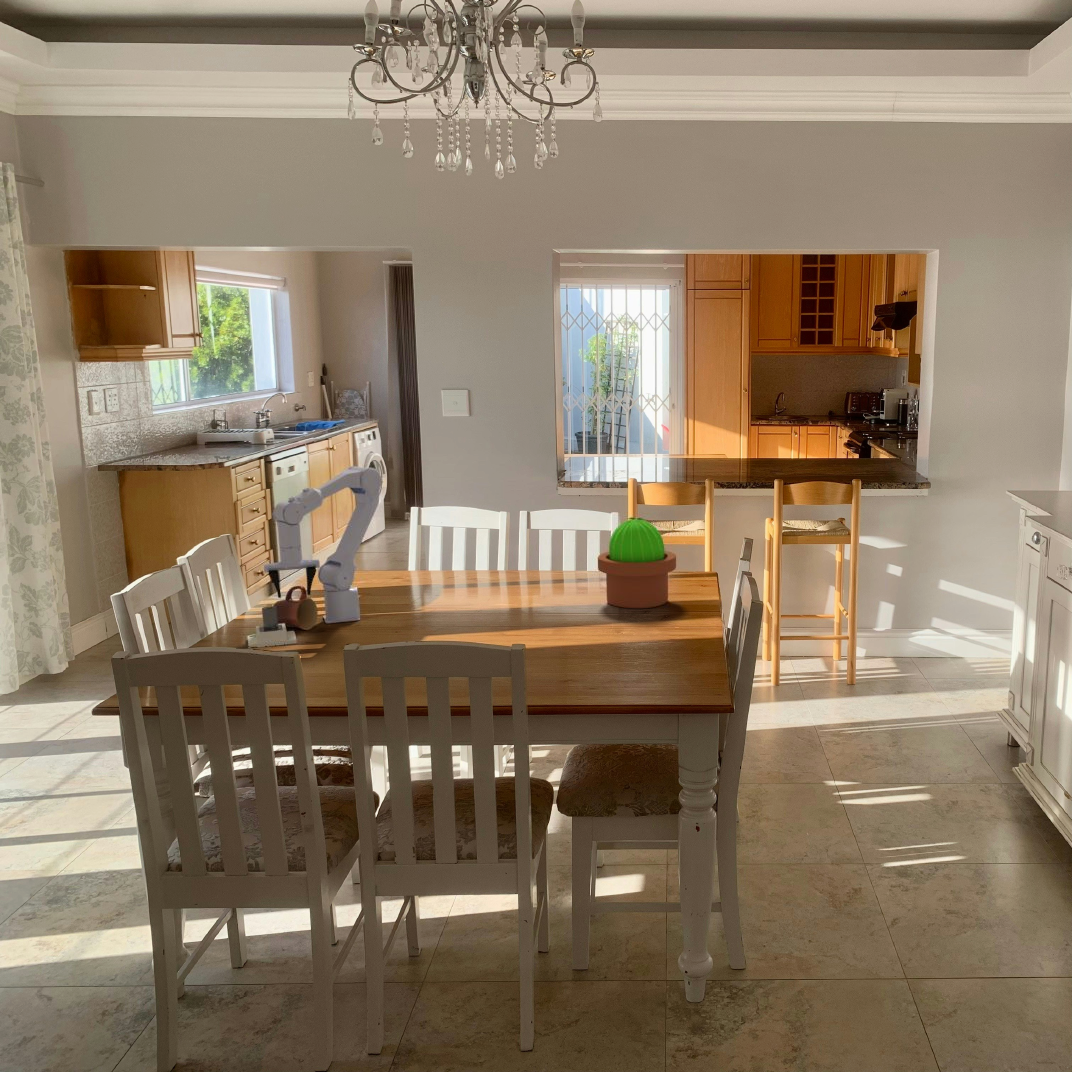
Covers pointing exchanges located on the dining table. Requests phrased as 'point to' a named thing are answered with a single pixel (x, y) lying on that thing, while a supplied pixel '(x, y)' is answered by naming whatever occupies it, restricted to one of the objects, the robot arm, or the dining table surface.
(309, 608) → the mug
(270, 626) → the cell
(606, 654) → the dining table surface
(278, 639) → the charger
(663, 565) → the potted cactus
